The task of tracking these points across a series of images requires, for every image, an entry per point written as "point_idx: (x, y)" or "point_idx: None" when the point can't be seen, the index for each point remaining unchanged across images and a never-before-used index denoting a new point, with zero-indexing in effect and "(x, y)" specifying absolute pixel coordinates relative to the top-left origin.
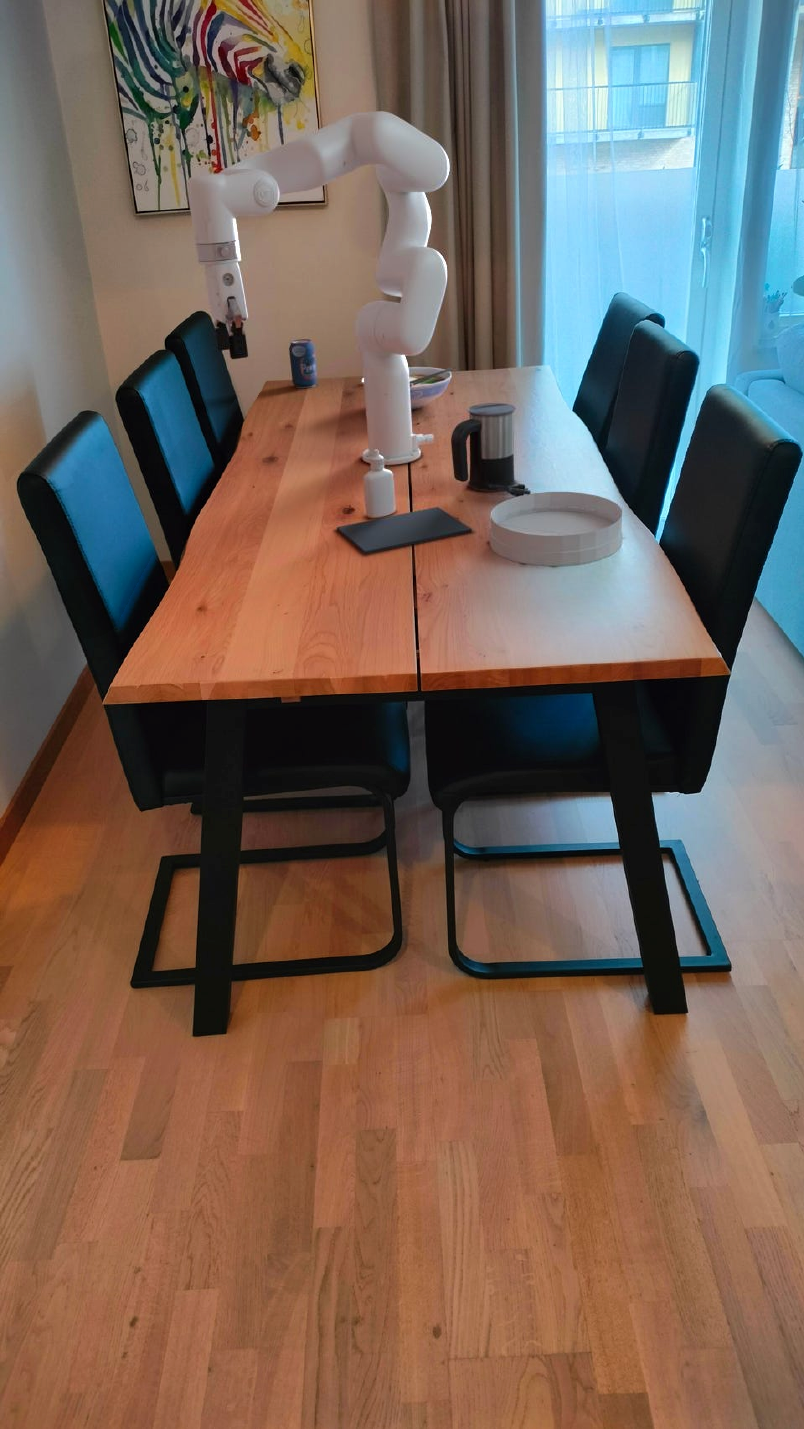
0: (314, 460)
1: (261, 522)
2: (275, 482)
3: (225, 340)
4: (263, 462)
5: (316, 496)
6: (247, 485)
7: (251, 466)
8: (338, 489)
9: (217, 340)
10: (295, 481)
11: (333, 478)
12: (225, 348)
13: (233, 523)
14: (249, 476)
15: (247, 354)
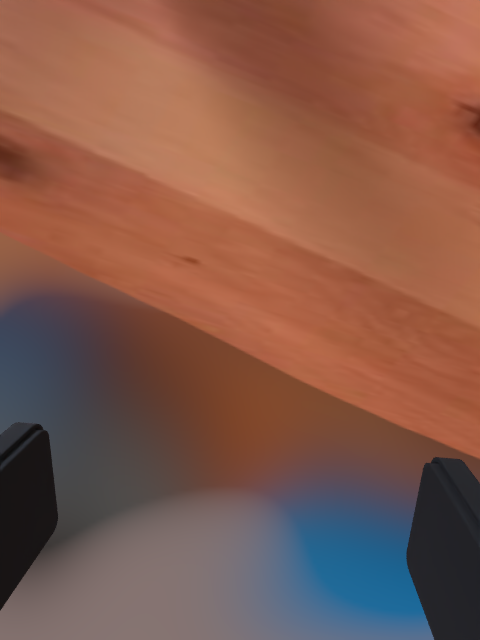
0: (58, 53)
1: (428, 319)
2: (185, 206)
3: (12, 531)
4: (16, 180)
5: (344, 155)
6: (172, 268)
7: (35, 216)
8: (328, 85)
9: (9, 590)
10: (204, 161)
11: (235, 63)
12: (51, 494)
13: (395, 366)
14: (109, 244)
15: (463, 469)
